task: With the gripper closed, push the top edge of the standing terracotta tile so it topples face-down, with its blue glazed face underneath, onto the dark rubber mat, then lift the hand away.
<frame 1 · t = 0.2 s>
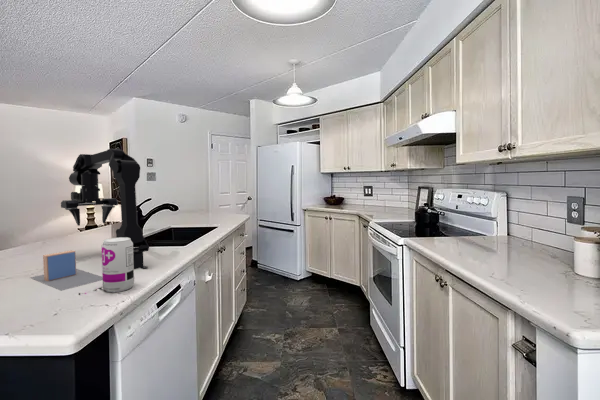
hand: (91, 224, 128), 14 cm above the counter, fingers open, 9 cm apart
mat: (68, 281, 102), on the counter
tile: (60, 277, 103), point 1 cm above the counter, touching mat
supplement can: (118, 288, 96), on the counter
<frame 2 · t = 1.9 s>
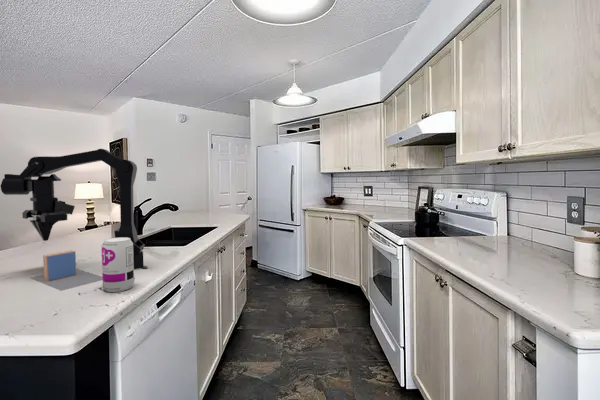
hand: (45, 240, 107), 12 cm above the counter, fingers closed
nothing on the counter moved.
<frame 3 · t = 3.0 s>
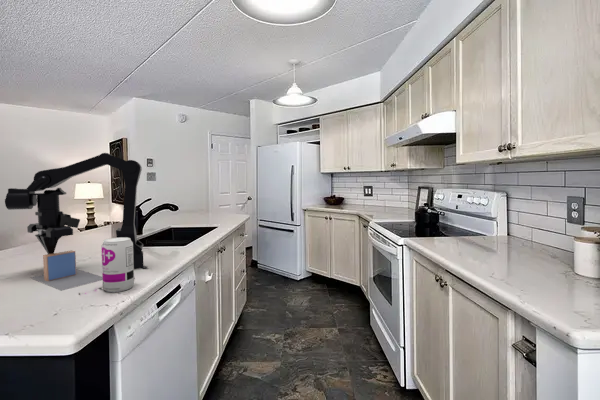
hand: (51, 255, 106), 7 cm above the counter, fingers closed
nothing on the counter moved.
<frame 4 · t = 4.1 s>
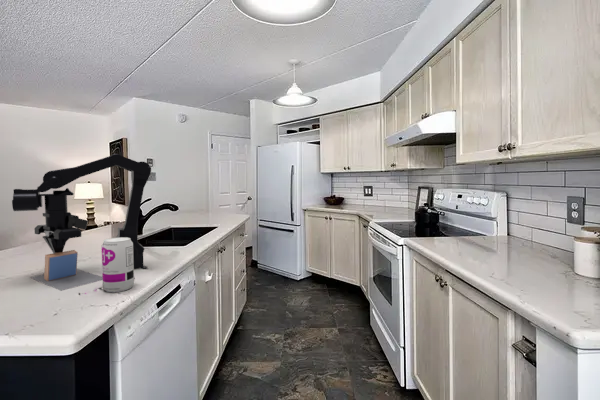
hand: (58, 257, 103), 7 cm above the counter, fingers closed
tile: (60, 276, 103), point 1 cm above the counter, tilted 11°, touching mat
everything else where it was.
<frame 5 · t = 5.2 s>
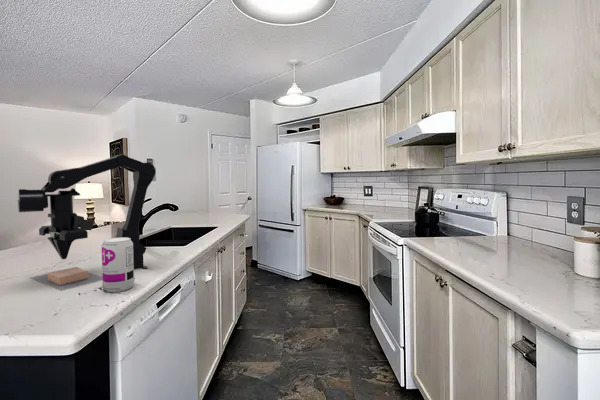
hand: (64, 258, 101), 7 cm above the counter, fingers closed
tile: (62, 273, 102), point 2 cm above the counter, tilted 90°, touching mat
everything else where it was.
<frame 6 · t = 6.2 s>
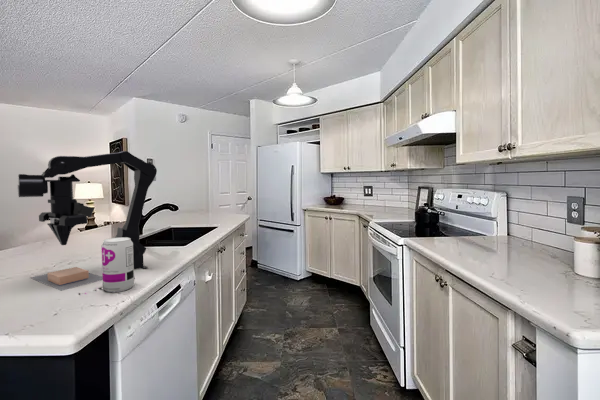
hand: (63, 245, 101), 12 cm above the counter, fingers closed
nothing on the counter moved.
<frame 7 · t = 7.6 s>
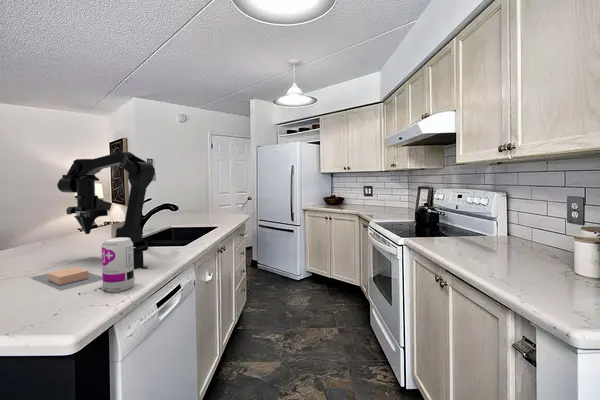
hand: (87, 233, 120), 12 cm above the counter, fingers closed
nothing on the counter moved.
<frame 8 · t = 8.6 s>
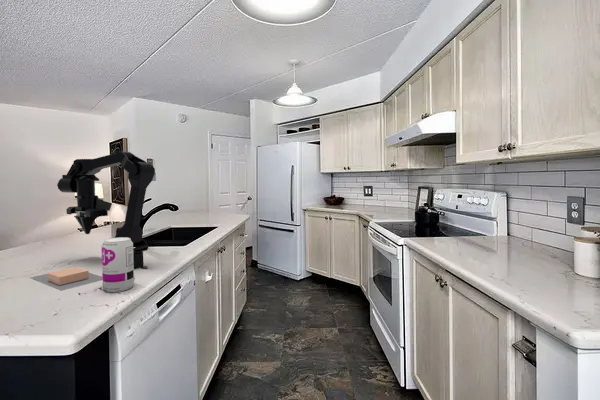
hand: (87, 233, 120), 12 cm above the counter, fingers closed
nothing on the counter moved.
at the end: tile tilted 90°; tile inside the target area on the mat (3.3 cm from its centre), point 2.5 cm above the mat's base; tile touching mat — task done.
